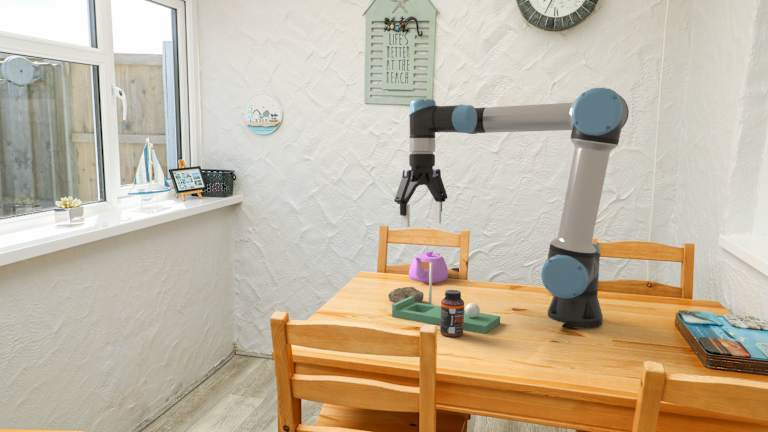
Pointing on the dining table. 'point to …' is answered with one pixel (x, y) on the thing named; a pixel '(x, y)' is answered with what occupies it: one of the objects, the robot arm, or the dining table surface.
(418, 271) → the teapot
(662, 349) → the dining table surface
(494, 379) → the dining table surface
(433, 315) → the green
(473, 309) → the ball
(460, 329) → the supplement bottle
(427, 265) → the pin
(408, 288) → the rock
